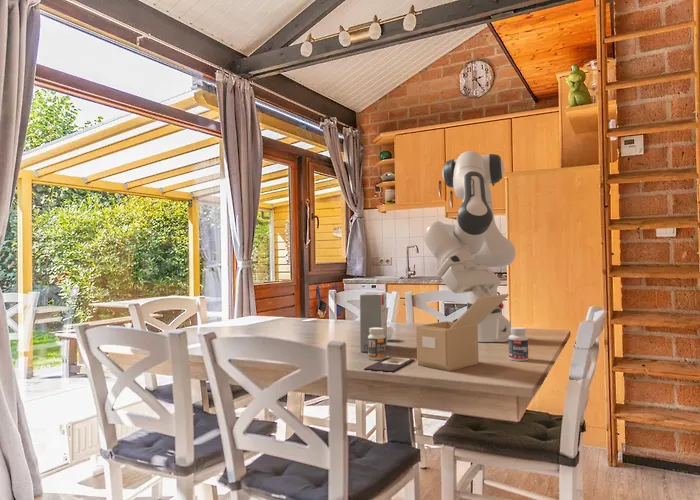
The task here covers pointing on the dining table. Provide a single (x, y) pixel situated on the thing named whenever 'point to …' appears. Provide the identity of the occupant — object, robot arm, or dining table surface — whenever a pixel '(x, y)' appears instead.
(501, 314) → the robot arm
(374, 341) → the pill bottle
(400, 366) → the chocolate bar
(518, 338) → the pill bottle
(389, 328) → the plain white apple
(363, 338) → the hard drive box
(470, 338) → the carton
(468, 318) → the flap
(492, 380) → the dining table surface
